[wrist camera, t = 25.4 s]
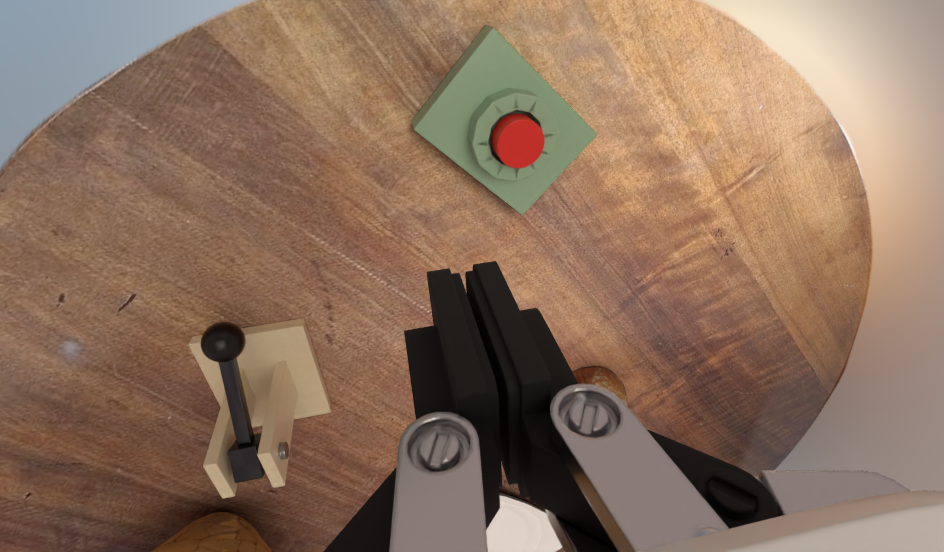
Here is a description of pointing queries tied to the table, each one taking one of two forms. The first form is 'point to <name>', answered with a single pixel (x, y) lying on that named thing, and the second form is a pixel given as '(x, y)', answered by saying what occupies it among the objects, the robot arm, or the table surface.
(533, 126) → the button
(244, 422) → the black ball knob lever
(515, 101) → the button block
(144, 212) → the table surface
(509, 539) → the plate
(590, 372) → the bread roll
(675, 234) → the table surface
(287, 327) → the lever bracket
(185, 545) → the bowl
